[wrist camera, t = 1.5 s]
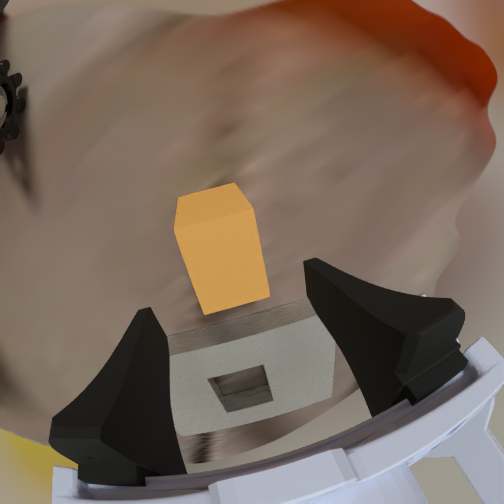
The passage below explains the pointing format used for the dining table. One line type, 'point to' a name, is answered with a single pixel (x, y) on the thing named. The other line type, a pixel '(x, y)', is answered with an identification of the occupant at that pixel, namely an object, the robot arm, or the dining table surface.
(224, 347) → the grey plate with hole
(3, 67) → the valve
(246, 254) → the orange rectangular block
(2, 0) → the beverage cup
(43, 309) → the dining table surface
